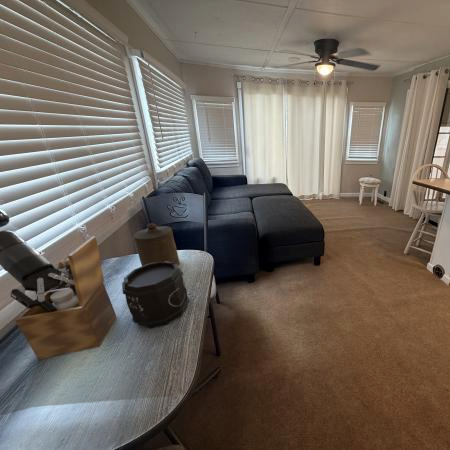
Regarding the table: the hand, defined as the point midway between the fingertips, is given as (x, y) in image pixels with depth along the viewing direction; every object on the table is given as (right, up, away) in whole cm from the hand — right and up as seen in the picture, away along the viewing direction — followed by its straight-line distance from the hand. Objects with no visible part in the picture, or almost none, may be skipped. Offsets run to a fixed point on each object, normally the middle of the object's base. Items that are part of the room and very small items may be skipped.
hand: (69, 303), depth 69 cm
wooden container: (+3, +3, +42) cm, 42 cm away
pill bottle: (-1, -8, +4) cm, 9 cm away
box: (-1, -12, +5) cm, 13 cm away
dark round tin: (+19, -8, +15) cm, 25 cm away
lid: (+6, +10, -1) cm, 12 cm away
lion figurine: (-29, -1, +35) cm, 46 cm away
